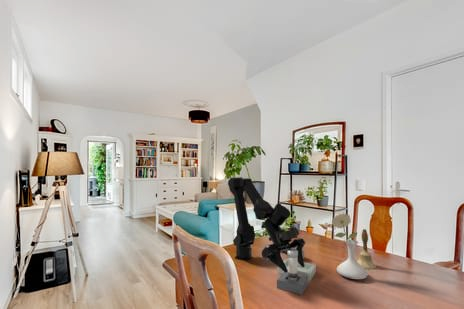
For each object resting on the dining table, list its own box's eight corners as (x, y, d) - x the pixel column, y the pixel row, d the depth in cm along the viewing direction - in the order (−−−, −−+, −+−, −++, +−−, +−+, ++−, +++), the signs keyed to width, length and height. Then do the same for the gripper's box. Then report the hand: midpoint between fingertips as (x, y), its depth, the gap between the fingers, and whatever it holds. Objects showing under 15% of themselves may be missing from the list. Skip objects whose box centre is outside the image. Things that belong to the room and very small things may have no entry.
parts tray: (277, 273, 102) (277, 266, 102) (285, 265, 110) (285, 258, 110) (309, 281, 95) (309, 273, 95) (315, 272, 103) (315, 264, 104)
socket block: (276, 288, 90) (276, 279, 90) (285, 278, 97) (285, 270, 98) (301, 294, 85) (301, 286, 85) (308, 284, 93) (308, 276, 93)
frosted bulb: (286, 287, 91) (285, 251, 91) (289, 282, 94) (289, 248, 94) (296, 289, 89) (296, 253, 89) (299, 285, 92) (299, 250, 92)
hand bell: (367, 270, 105) (366, 232, 106) (351, 263, 113) (350, 228, 114) (380, 267, 108) (380, 230, 109) (364, 260, 116) (363, 226, 117)
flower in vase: (365, 272, 104) (364, 212, 105) (370, 284, 93) (369, 217, 94) (331, 267, 108) (330, 210, 109) (333, 279, 97) (332, 215, 98)
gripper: (266, 223, 91) (288, 264, 81) (301, 217, 101) (325, 253, 91) (253, 239, 97) (272, 279, 87) (288, 232, 107) (308, 267, 97)
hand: (295, 269), depth 90 cm, fingers open, 8 cm apart
